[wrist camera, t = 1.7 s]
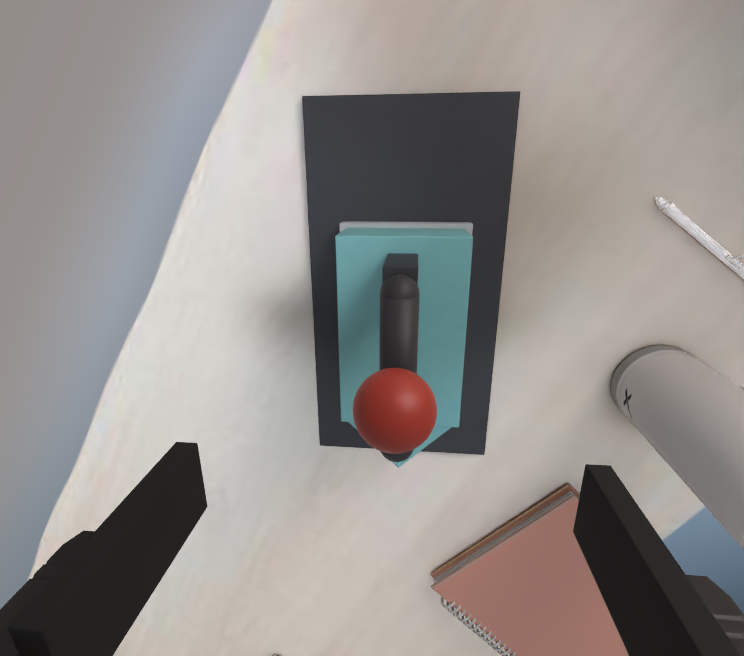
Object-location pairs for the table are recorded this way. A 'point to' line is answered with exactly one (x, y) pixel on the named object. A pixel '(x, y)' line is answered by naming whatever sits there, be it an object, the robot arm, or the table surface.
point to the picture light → (700, 235)
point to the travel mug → (689, 424)
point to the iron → (402, 330)
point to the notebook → (532, 587)
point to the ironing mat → (411, 218)
